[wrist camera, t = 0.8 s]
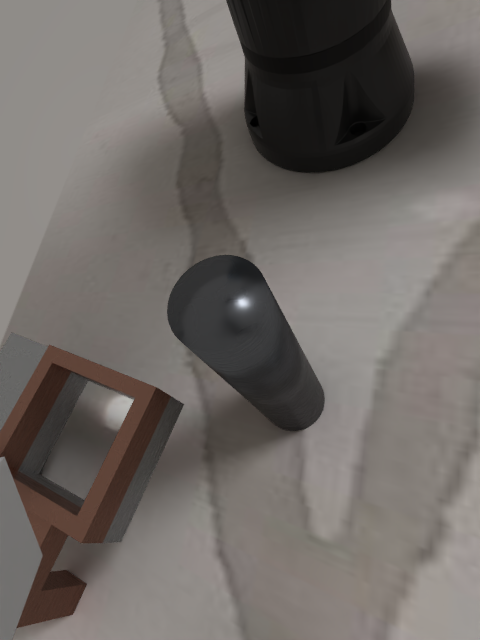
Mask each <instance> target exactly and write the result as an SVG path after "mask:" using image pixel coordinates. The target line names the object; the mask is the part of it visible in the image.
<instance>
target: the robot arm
mask: <svg viewBox="0 0 480 640" xmlns="http://www.w3.org/2000/svg"><path fill="white" fill-rule="evenodd" d="M226 1H227V4H228V7H229V10H230V13H231V16H232V19H233V22H234V25H235V28H236V31H237V34H238V37H239V40H240V43H241V46H242V49H243V53H244V56H245V102H244V111H245V119H246V123H247V126H248V129H249V132H250V135H251V137H252V140H253V142H254V145H255V146H256V148H257V150H258V151H259V152H260V153H261V154H262V155H263V156H264V157H265V158H266V159H267V160H269V161H270V162H272V163H273V164H275V165H277V166H280V167H282V168H285V169H289V170H293V171H300V172H322V171H330V170H335V169H339V168H343V167H346V166H349V165H352V164H354V163H357V162H359V161H361V160H363V159H365V158H367V157H369V156H371V155H373V154H374V153H376V152H377V151H379V150H380V149H382V148H383V147H384V146H385V145H387V144H388V143H389V142H390V141H391V140H392V139H393V138H394V137H395V136H396V135H397V134H398V133H399V131H400V130H401V129H402V127H403V126H404V124H405V123H406V121H407V119H408V117H409V115H410V112H411V109H412V106H413V99H414V71H413V65H412V62H411V59H410V56H409V54H408V51H407V48H406V46H405V43H404V41H403V38H402V36H401V33H400V31H399V28H398V25H397V23H396V20H395V18H394V15H393V13H392V10H391V0H226ZM42 556H43V555H42V552H41V550H40V547H39V544H38V542H37V539H36V537H35V534H34V532H33V529H32V526H31V524H30V521H29V519H28V516H27V513H26V511H25V508H24V506H23V503H22V501H21V498H20V495H19V493H18V490H17V488H16V485H15V482H14V480H13V477H12V475H11V472H10V469H9V467H8V464H7V462H6V459H5V457H0V640H12V639H13V636H14V633H15V630H16V628H17V625H18V622H19V619H20V617H21V614H22V611H23V608H24V606H25V603H26V600H27V597H28V595H29V592H30V589H31V586H32V584H33V581H34V578H35V575H36V573H37V570H38V567H39V565H40V562H41V559H42Z"/></svg>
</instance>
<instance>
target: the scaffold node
mask: <svg viewBox="0 0 480 640" xmlns="http://www.w3.org/2000/svg"><path fill="white" fill-rule="evenodd" d="M88 381H90V382H93V383H95V384H98V385H100V386H102V387H105V388H107V389H109V390H112V391H114V392H116V393H119V394H121V395H124V396H126V397H128V398H131V399H133V400H134V401H133V403H132V405H131V407H130V409H129V411H128V413H127V416H126V418H125V420H124V422H123V424H122V426H121V428H120V430H119V432H118V434H117V436H116V438H115V440H114V442H113V444H112V446H111V448H110V450H109V452H108V454H107V456H106V458H105V460H104V462H103V465H102V467H101V469H100V471H99V473H98V475H97V477H96V479H95V481H94V483H93V485H92V487H91V489H90V491H89V493H88V495H87V497H86V499H85V500H83V499H81V498H80V497H78V496H76V495H74V494H73V493H71V492H69V491H67V490H66V489H64V488H62V487H61V486H59V485H57V484H55V483H54V482H52V481H50V480H48V479H47V478H45V477H43V476H41V473H42V467H43V466H44V464H45V462H46V460H47V458H48V456H49V454H50V452H51V450H52V448H53V446H54V445H55V443H56V441H57V439H58V437H59V435H60V433H61V431H62V429H63V427H64V426H65V424H66V422H67V420H68V418H69V416H70V414H71V412H72V410H73V408H74V407H75V405H76V403H77V401H78V399H79V397H80V395H81V393H82V391H83V389H84V388H85V386H86V384H87V382H88ZM183 406H184V404H183V403H181V402H180V401H178V400H176V399H175V398H173V397H171V396H170V395H168V394H167V393H165V392H163V391H162V390H160V389H158V388H157V387H154V386H152V385H149V384H147V383H144V382H142V381H139V380H137V379H134V378H132V377H129V376H127V375H124V374H122V373H119V372H117V371H114V370H112V369H109V368H107V367H104V366H102V365H99V364H97V363H94V362H92V361H89V360H86V359H84V358H81V357H79V356H76V355H74V354H71V353H69V352H66V351H64V350H61V349H59V348H56V347H54V346H51V345H49V346H48V347H47V346H45V345H42V344H40V343H37V342H35V341H32V340H30V339H27V338H25V337H22V336H20V335H17V334H15V333H11V335H10V336H9V338H8V340H7V341H6V343H5V345H4V346H3V348H2V350H1V351H0V457H5V459H6V462H7V464H8V467H9V469H10V472H11V475H12V477H13V480H14V482H15V485H16V488H17V490H18V493H19V495H20V498H21V501H22V503H23V506H24V508H25V511H26V513H27V516H28V519H29V521H30V524H31V526H32V529H33V532H34V534H35V537H36V539H37V542H38V544H39V547H40V550H41V552H42V555H43V556H42V559H41V562H40V565H39V567H38V570H37V573H36V575H35V578H34V581H33V584H32V586H31V589H30V592H29V595H28V597H27V600H26V603H25V606H24V608H23V611H22V614H21V617H20V619H19V622H18V625H17V628H19V627H23V626H27V625H31V624H35V623H39V622H43V621H48V620H52V619H56V618H60V617H64V616H68V615H73V613H74V611H75V609H76V606H77V604H78V602H79V600H80V598H81V596H82V594H83V591H84V589H85V587H86V585H87V584H86V583H85V582H83V581H82V580H80V579H79V578H77V577H76V576H74V575H73V574H71V573H70V572H68V571H67V570H63V571H53V572H50V571H51V569H52V567H53V565H54V563H55V561H56V559H57V557H58V555H59V553H60V551H61V549H62V547H63V544H64V542H65V540H66V538H67V536H68V535H69V536H71V537H72V538H74V539H75V540H77V541H78V542H80V543H118V542H122V539H123V537H124V535H125V533H126V531H127V528H128V526H129V524H130V522H131V520H132V517H133V515H134V513H135V511H136V509H137V506H138V504H139V502H140V500H141V498H142V496H143V493H144V491H145V489H146V487H147V485H148V482H149V480H150V478H151V476H152V474H153V471H154V469H155V467H156V465H157V463H158V460H159V458H160V456H161V454H162V452H163V449H164V447H165V445H166V443H167V441H168V439H169V436H170V434H171V432H172V430H173V428H174V425H175V423H176V421H177V419H178V417H179V414H180V412H181V410H182V408H183Z"/></svg>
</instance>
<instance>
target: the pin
mask: <svg viewBox="0 0 480 640" xmlns="http://www.w3.org/2000/svg"><path fill="white" fill-rule="evenodd" d="M167 314H168V321H169V325H170V327H171V330H172V331H173V333H174V335H175V336H176V337H177V338H178V339H179V340H180V341H181V342H182V343H183V344H184V345H186V346H187V347H188V348H189V349H190V350H191V351H192V352H193V353H195V354H196V355H197V356H198V357H199V358H200V359H201V360H203V361H204V362H205V363H206V364H207V365H208V366H209V367H210V368H212V369H213V370H214V371H215V372H216V373H217V374H218V375H219V376H221V377H222V378H223V379H224V380H225V381H226V382H227V383H229V384H230V385H231V386H232V387H233V388H234V389H235V390H236V391H238V392H239V393H240V394H241V395H242V396H243V397H244V398H245V399H247V400H248V401H249V402H250V403H251V404H252V405H253V406H255V407H256V408H257V409H258V410H259V411H260V412H261V413H262V414H264V415H265V416H266V417H267V418H268V419H269V420H270V421H271V422H273V423H274V424H275V425H276V426H278V427H280V428H282V429H285V430H289V431H298V430H302V429H305V428H307V427H309V426H311V425H312V424H313V423H314V422H315V421H316V420H317V419H318V418H319V417H320V415H321V413H322V411H323V408H324V402H325V397H324V392H323V389H322V386H321V384H320V383H319V381H318V379H317V377H316V375H315V373H314V371H313V369H312V367H311V366H310V364H309V362H308V360H307V358H306V356H305V354H304V352H303V350H302V349H301V347H300V345H299V343H298V341H297V339H296V337H295V335H294V333H293V332H292V330H291V328H290V326H289V324H288V322H287V320H286V318H285V316H284V315H283V313H282V311H281V309H280V307H279V305H278V303H277V301H276V299H275V297H274V296H273V294H272V292H271V290H270V288H269V286H268V284H267V282H266V280H265V279H264V277H263V275H262V273H261V272H260V270H259V269H258V268H257V267H256V266H255V265H254V264H253V263H251V262H250V261H248V260H246V259H244V258H241V257H238V256H232V255H220V256H214V257H211V258H207V259H205V260H203V261H200V262H199V263H197V264H195V265H194V266H192V267H191V268H190V269H188V270H187V271H186V272H185V273H184V274H183V275H182V276H181V277H180V279H179V280H178V281H177V283H176V284H175V286H174V288H173V290H172V292H171V294H170V298H169V301H168V309H167Z"/></svg>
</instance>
